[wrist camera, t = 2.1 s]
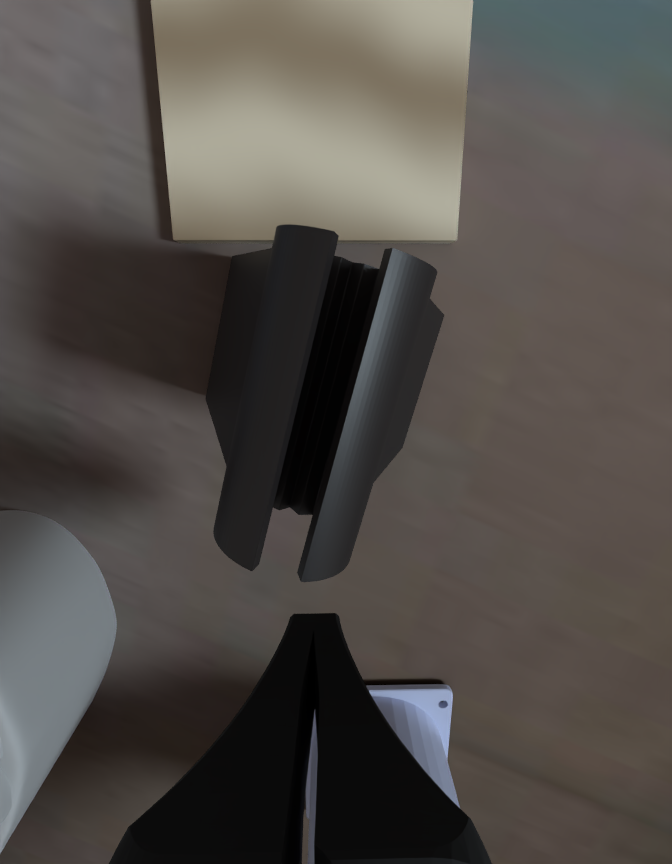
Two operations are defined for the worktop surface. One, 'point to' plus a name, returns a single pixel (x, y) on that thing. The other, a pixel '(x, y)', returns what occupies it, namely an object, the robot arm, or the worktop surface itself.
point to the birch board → (313, 117)
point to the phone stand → (314, 388)
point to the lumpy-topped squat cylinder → (45, 651)
